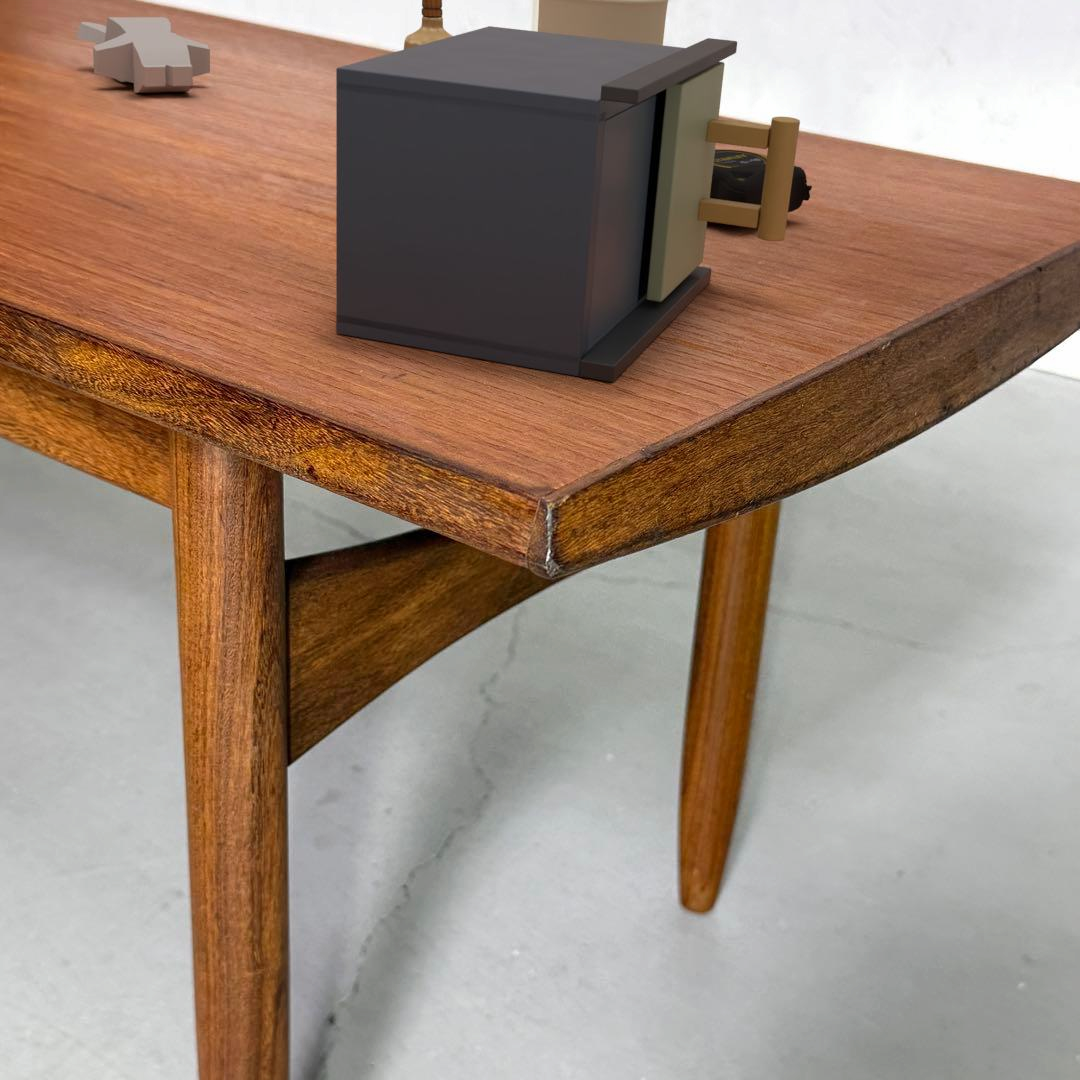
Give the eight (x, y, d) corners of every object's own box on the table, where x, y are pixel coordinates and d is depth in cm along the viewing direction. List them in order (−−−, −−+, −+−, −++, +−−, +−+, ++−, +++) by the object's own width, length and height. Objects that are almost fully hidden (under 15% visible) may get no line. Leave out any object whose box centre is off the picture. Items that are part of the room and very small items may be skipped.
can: (663, 153, 112) (679, -17, 106) (642, 177, 104) (659, -4, 98) (543, 140, 113) (554, -28, 108) (514, 163, 105) (524, -17, 100)
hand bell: (442, 119, 119) (449, -98, 112) (359, 103, 122) (361, -107, 115) (499, 106, 125) (508, -100, 118) (419, 92, 129) (423, -108, 122)
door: (785, 274, 79) (812, 71, 74) (751, 317, 72) (779, 95, 67) (688, 260, 80) (709, 60, 76) (645, 300, 73) (666, 82, 69)
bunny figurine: (108, 47, 115) (62, -2, 126) (110, 112, 118) (65, 59, 129) (226, 45, 120) (172, -2, 130) (226, 108, 122) (173, 57, 133)
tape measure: (735, 237, 90) (742, 175, 89) (655, 212, 95) (660, 152, 93) (807, 223, 94) (815, 164, 93) (727, 200, 99) (734, 143, 97)
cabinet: (710, 282, 81) (737, 41, 75) (613, 383, 66) (638, 89, 60) (479, 246, 85) (488, 14, 79) (335, 333, 69) (335, 53, 64)
